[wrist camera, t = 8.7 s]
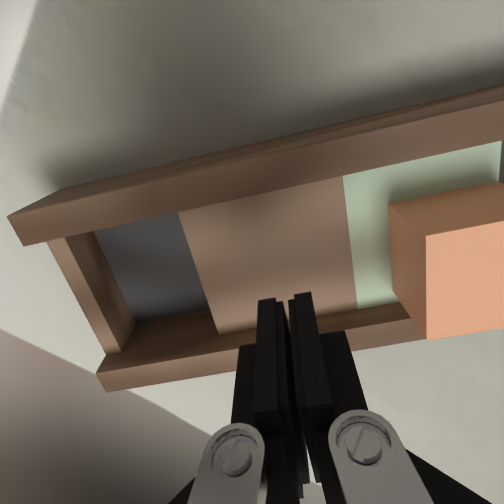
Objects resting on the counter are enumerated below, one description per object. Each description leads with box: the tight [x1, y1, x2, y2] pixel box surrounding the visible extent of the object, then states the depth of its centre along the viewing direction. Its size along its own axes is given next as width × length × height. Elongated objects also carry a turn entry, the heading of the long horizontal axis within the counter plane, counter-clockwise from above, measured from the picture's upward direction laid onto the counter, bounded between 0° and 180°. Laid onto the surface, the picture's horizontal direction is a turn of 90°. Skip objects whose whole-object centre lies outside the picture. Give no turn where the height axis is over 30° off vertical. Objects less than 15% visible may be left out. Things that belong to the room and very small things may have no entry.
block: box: [388, 181, 504, 340], centre depth 15 cm, size 5×5×4 cm
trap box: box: [7, 84, 504, 392], centre depth 18 cm, size 11×29×4 cm, turn 103°
